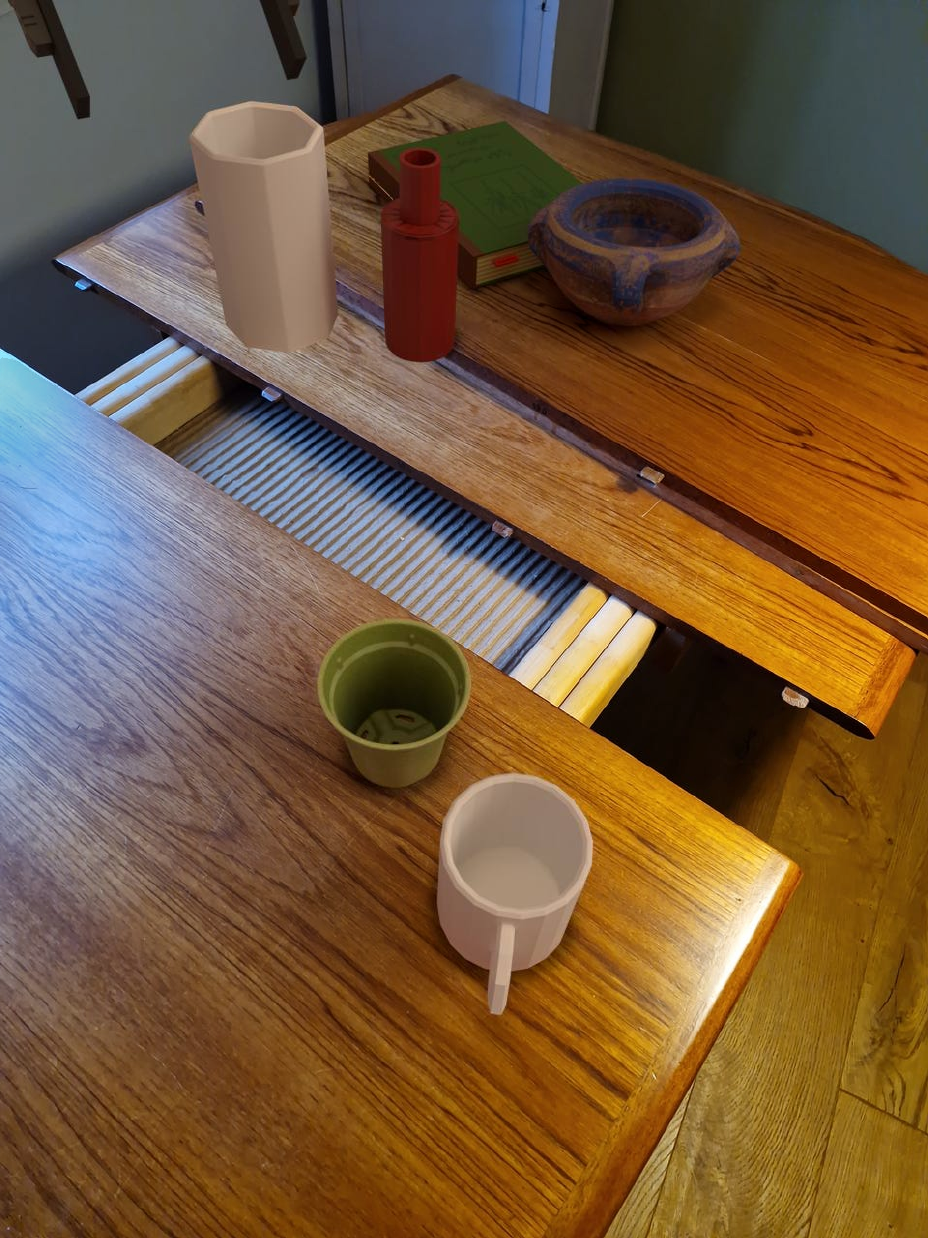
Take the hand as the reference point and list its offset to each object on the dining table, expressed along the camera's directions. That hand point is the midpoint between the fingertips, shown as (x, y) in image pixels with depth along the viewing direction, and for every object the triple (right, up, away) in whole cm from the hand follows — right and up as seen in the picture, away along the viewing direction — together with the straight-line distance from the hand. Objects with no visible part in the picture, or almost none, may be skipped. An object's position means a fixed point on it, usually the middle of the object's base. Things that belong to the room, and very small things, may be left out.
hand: (195, 88), depth 55 cm
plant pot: (+12, -42, +6) cm, 44 cm away
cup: (-2, -3, +35) cm, 35 cm away
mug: (+19, -52, -1) cm, 55 cm away
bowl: (+33, +1, +40) cm, 52 cm away
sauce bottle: (+12, -5, +34) cm, 36 cm away
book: (+20, +14, +49) cm, 54 cm away
